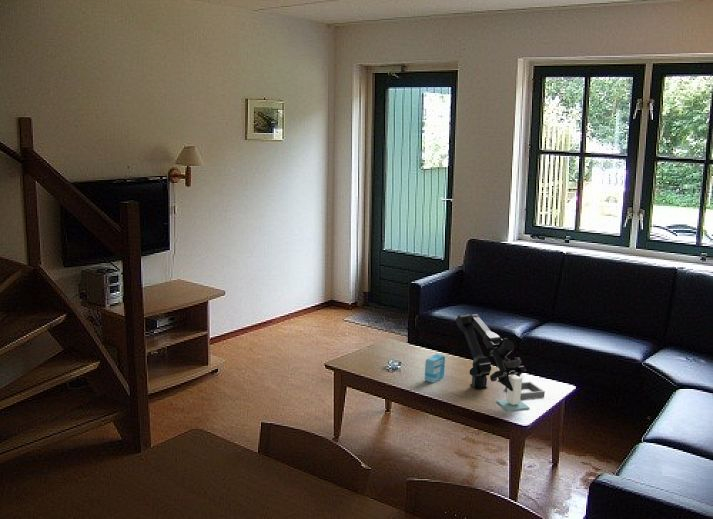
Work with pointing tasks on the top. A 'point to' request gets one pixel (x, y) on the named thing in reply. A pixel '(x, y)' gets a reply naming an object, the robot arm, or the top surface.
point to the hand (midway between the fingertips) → (516, 389)
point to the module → (514, 390)
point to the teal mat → (512, 407)
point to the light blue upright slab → (434, 368)
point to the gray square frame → (537, 392)
